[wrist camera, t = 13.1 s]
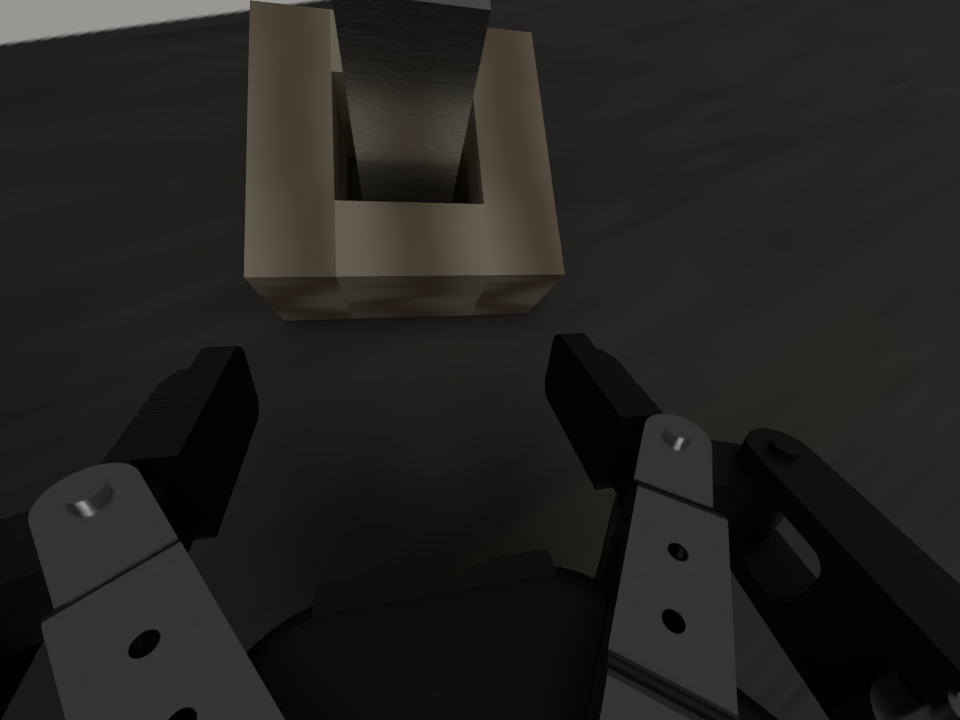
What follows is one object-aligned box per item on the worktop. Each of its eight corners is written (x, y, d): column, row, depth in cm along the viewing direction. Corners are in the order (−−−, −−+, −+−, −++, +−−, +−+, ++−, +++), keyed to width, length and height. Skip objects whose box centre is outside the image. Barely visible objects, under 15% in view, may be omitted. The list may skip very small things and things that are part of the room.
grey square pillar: (369, 242, 24) (330, -11, 11) (366, 177, 25) (327, -134, 12) (442, 243, 25) (491, 10, 12) (438, 179, 26) (477, -107, 13)
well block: (284, 320, 22) (243, 277, 17) (284, 102, 25) (250, 0, 19) (527, 313, 25) (564, 274, 19) (504, 118, 28) (531, 32, 22)
